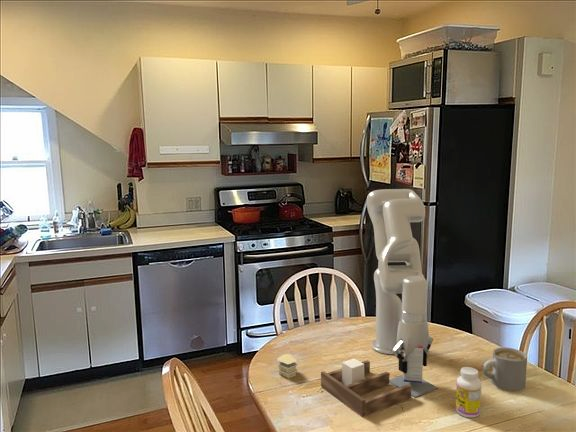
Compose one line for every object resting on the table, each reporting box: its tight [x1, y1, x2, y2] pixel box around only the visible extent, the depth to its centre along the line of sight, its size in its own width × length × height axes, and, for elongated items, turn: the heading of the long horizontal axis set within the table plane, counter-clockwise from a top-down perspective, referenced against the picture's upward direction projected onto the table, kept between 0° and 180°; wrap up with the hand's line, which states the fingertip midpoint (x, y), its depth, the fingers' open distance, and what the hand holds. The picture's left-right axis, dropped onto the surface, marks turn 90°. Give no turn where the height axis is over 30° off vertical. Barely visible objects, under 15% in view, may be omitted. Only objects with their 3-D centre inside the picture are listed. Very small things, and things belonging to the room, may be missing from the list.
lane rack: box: [320, 359, 412, 418], centre depth 150 cm, size 19×20×5 cm
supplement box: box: [402, 346, 424, 383], centre depth 153 cm, size 6×6×12 cm
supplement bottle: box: [455, 366, 482, 419], centre depth 138 cm, size 7×7×13 cm
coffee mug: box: [482, 346, 528, 392], centre depth 154 cm, size 13×10×10 cm
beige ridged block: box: [276, 353, 298, 379], centre depth 164 cm, size 10×9×6 cm
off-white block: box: [341, 358, 365, 386], centre depth 154 cm, size 5×5×8 cm
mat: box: [389, 374, 439, 399], centre depth 155 cm, size 10×12×1 cm
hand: (412, 367), depth 154 cm, fingers closed on supplement box, 8 cm apart
